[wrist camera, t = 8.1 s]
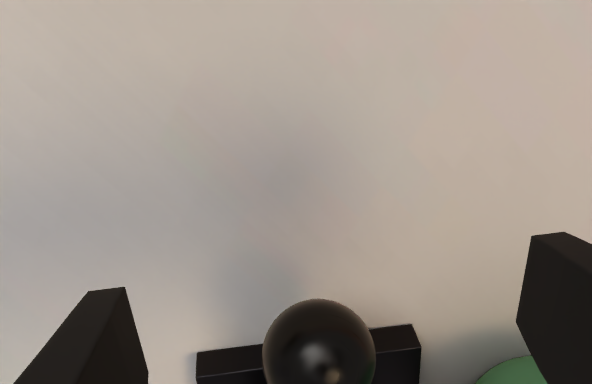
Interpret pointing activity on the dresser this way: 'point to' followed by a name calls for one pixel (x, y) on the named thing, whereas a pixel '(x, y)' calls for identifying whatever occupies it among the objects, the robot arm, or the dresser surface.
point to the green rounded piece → (514, 373)
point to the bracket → (250, 379)
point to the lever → (318, 346)
